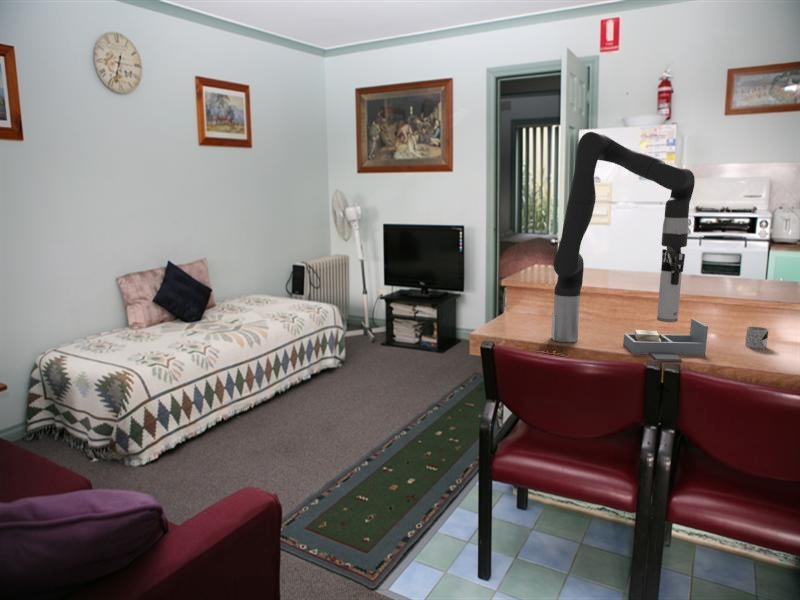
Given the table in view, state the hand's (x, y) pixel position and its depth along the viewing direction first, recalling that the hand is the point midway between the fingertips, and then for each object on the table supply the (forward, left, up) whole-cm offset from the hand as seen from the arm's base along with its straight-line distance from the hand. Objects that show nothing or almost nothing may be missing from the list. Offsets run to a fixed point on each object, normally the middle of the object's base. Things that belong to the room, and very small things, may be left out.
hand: (670, 282), depth 198 cm
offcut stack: (-2, +12, -26) cm, 28 cm away
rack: (+3, +11, -26) cm, 28 cm away
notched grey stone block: (+38, +19, -26) cm, 50 cm away
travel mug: (0, 0, -13) cm, 13 cm away
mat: (0, 0, -26) cm, 26 cm away
